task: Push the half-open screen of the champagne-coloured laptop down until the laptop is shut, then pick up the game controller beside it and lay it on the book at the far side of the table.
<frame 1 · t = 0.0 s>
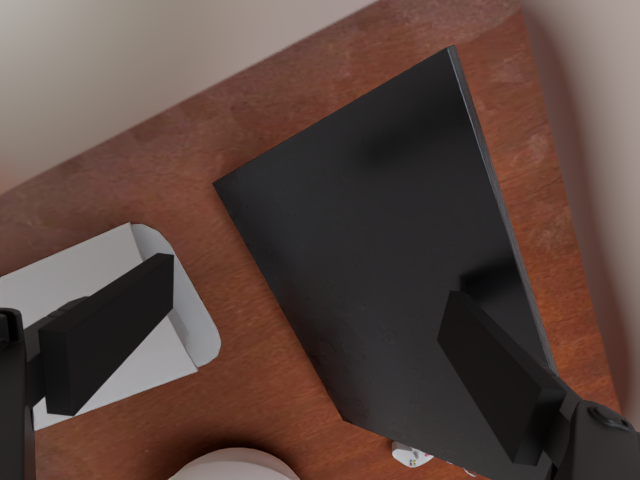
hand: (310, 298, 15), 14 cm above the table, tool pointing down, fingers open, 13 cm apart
laptop screen: (374, 317, 21), point 9 cm above the table, hinge at 42.3°, touching gripper
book: (90, 328, 31), on the table
game controller: (432, 445, 35), on the table
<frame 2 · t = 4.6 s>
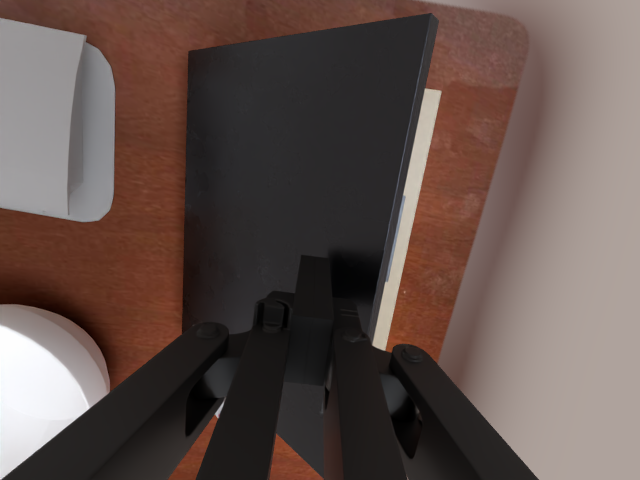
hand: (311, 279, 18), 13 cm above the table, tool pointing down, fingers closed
laptop screen: (259, 245, 22), point 8 cm above the table, hinge at 41.3°, touching gripper
laptop: (303, 223, 30), on the table
bowl: (52, 358, 34), on the table
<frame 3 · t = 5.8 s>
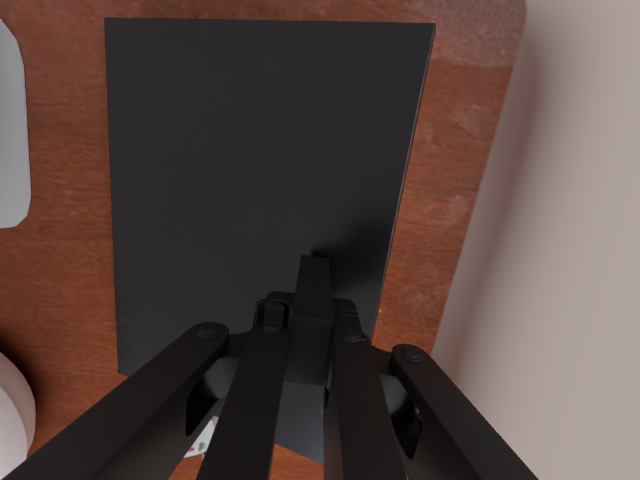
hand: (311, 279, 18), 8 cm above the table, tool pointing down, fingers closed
laptop screen: (231, 250, 20), point 5 cm above the table, hinge at 20.0°, touching gripper
game controller: (204, 445, 32), on the table
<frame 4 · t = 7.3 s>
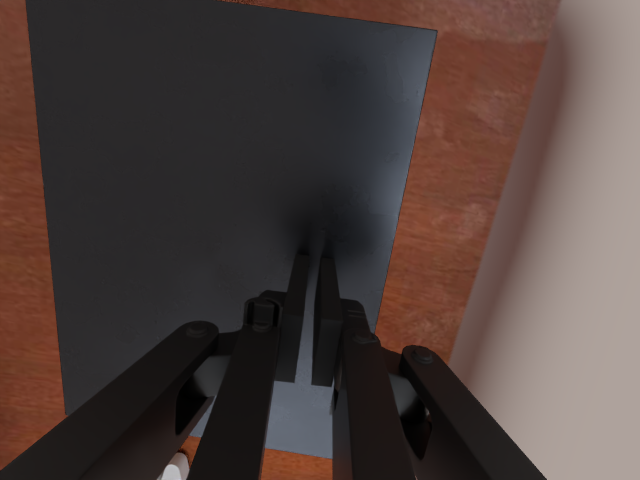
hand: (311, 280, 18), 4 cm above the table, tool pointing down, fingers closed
laptop screen: (217, 258, 18), point 3 cm above the table, hinge at 2.7°, touching gripper, laptop
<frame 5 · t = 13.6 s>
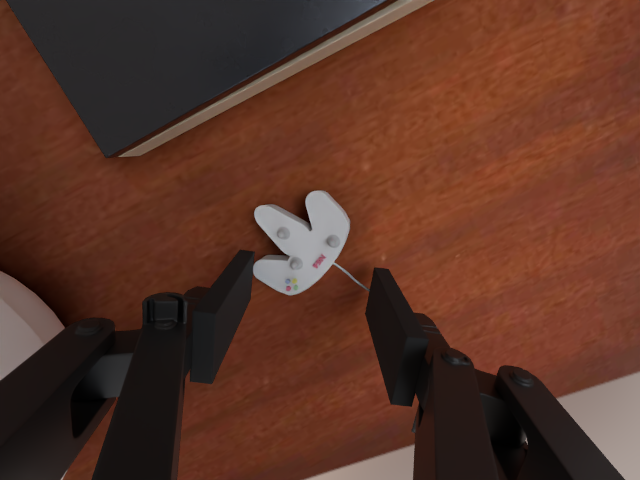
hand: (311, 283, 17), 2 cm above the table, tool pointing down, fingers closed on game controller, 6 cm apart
game controller: (343, 270, 19), on the table, touching gripper
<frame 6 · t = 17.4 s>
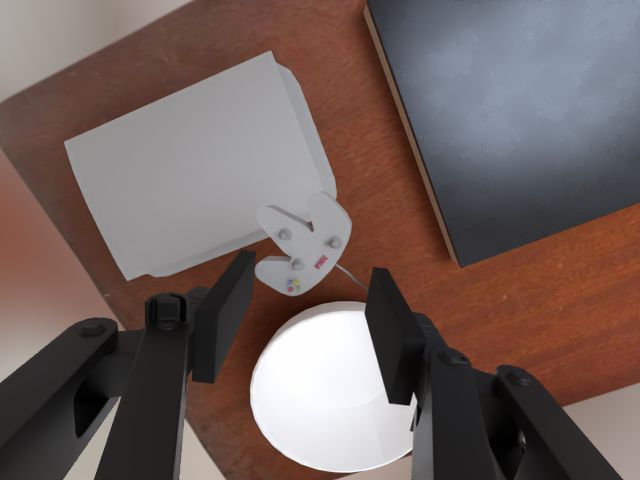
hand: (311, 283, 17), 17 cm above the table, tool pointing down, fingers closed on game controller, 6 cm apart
laptop screen: (524, 100, 28), point 3 cm above the table, hinge at 3.7°, touching laptop
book: (210, 177, 32), on the table
laptop: (506, 105, 30), on the table
game controller: (344, 271, 19), point 15 cm above the table, touching gripper
bowl: (341, 351, 38), on the table
when the fingers open (6 cm above the table, at t = 21.1 s): game controller stays where it is, resting on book.
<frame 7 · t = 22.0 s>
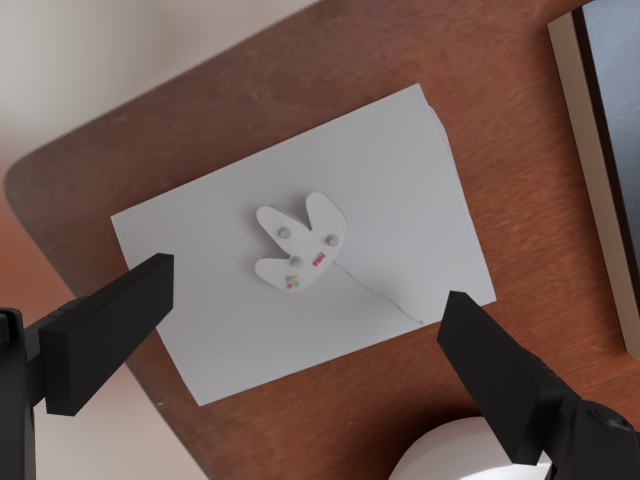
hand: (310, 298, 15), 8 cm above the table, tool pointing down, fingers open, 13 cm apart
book: (307, 254, 23), on the table, touching game controller
game controller: (341, 269, 20), point 4 cm above the table, touching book
bowl: (464, 465, 29), on the table
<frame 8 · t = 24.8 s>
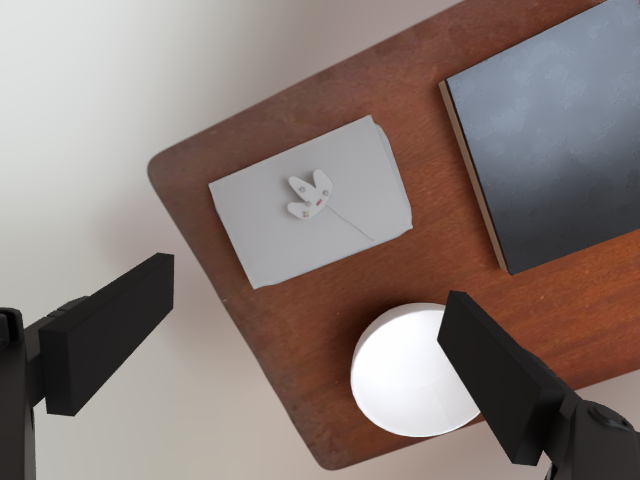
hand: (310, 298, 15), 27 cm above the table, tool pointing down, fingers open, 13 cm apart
laptop screen: (563, 149, 37), point 3 cm above the table, hinge at 3.7°, touching laptop
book: (313, 207, 41), on the table, touching game controller
laptop: (546, 149, 39), on the table
game controller: (331, 211, 38), point 4 cm above the table, touching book
bowl: (409, 342, 47), on the table
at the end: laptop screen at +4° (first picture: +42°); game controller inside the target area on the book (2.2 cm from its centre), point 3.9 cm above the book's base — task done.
